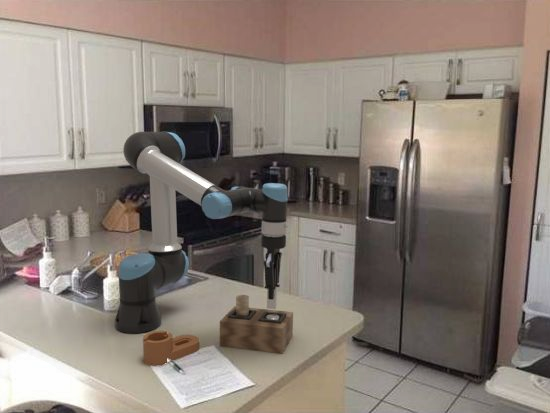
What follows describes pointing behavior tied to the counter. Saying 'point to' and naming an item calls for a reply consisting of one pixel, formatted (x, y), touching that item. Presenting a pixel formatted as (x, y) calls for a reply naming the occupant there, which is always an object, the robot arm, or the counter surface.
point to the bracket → (167, 347)
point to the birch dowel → (242, 305)
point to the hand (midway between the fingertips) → (271, 307)
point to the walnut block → (257, 330)
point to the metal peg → (272, 317)
